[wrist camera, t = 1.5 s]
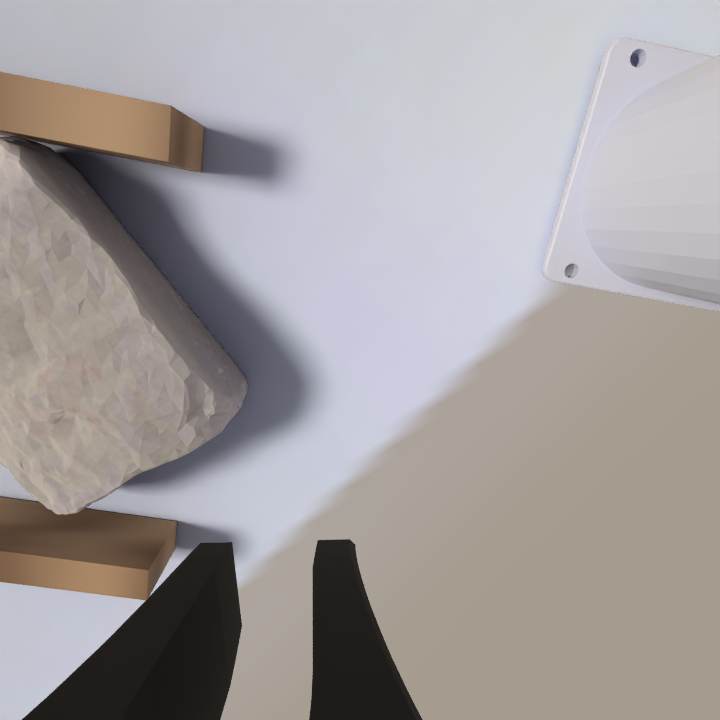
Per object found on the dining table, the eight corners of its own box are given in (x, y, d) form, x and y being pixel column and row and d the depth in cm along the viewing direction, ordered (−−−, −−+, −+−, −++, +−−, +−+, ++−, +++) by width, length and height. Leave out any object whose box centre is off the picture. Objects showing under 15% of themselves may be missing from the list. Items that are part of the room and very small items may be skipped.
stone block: (128, 477, 22) (278, 381, 19) (50, 552, 18) (226, 445, 14) (-60, 277, 19) (72, 121, 16) (-206, 306, 15) (-68, 101, 12)
